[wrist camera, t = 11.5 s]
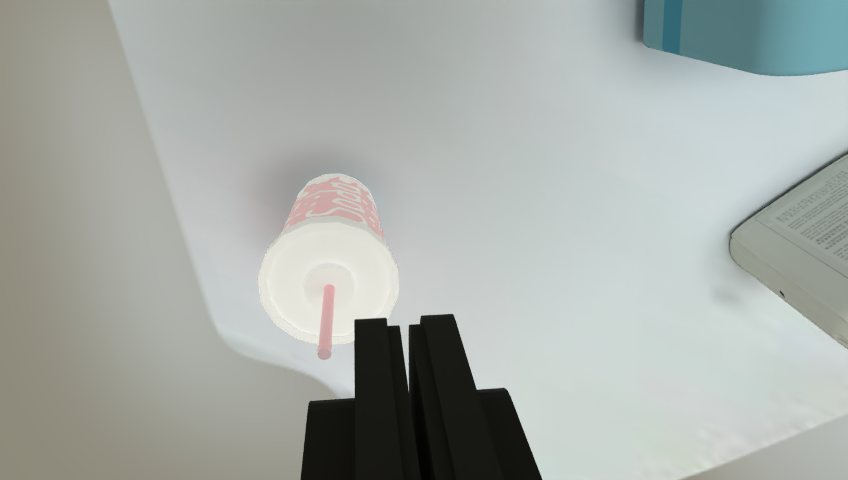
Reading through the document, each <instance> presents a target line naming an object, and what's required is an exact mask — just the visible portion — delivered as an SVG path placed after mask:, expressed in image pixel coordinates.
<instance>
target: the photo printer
mask: <svg viewBox="0 0 848 480" xmlns="http://www.w3.org/2000/svg"><path fill="white" fill-rule="evenodd" d="M731 237H732V238H731V240H730V252H731V255H732V258H733V259H734V261H735V262H736V263H737V264H738V265H740V266H741V267H742V268H743V269H745V270H746V271H747V272H748V273H750V274H751V275H752V276H754V277H755V278H756V279H757V280H759V281H760V282H761V283H762V284H764V285H765V286H766V287H768V288H769V289H770V290H771V291H773V292H774V293H775V294H776V295H778V296H779V297H780V298H782V299H783V300H784V301H785V302H787V303H788V304H789V305H791V306H792V307H793V308H794V309H796V310H797V311H798V312H800V313H801V314H802V315H803V316H805V317H806V318H807V319H809V320H810V321H811V322H812V323H814V324H815V325H816V326H818V327H819V328H820V329H821V330H823V331H824V332H825V333H827V334H828V335H829V336H830V337H832V338H833V339H834V340H836V341H837V342H838V343H840V344H841V345H842V346H844V347H845V348H847V349H848V154H847V155H845V156H843V157H842V158H840V159H839V160H837V161H835V162H834V163H832V164H831V165H829V166H828V167H826V168H824V169H823V170H821V171H820V172H818V173H817V174H815V175H814V176H812V177H811V178H809V179H808V180H806V181H805V182H803V183H802V184H800V185H799V186H797V187H796V188H794V189H793V190H791V191H790V192H788V193H787V194H785V195H784V196H782V197H781V198H779V199H778V200H776V201H775V202H773V203H772V204H770V205H769V206H767V207H766V208H764V209H763V210H761V211H760V212H759V213H757V214H756V215H754V216H753V217H751V218H750V219H749V220H747V221H746V222H745V223H743V224H742V225H741V226H740V227H738V228H737V229H736V230H735V231H734V232H733V233H732V235H731Z"/></svg>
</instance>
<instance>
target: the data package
mask: <svg viewBox="0 0 848 480" xmlns="http://www.w3.org/2000/svg"><path fill="white" fill-rule="evenodd" d="M643 43H644V45H645V46H647V47H649V48H653V49H657V50H661V51H665V52H669V53H673V54H677V55H681V56H685V57H689V58H693V59H697V60H701V61H706V62H710V63H714V64H718V65H722V66H726V67H730V68H734V69H738V70H742V71H746V72H750V73H754V74H760V75H770V76H802V75H813V74H821V73H828V72H835V71H842V70H848V0H645V3H644V29H643Z"/></svg>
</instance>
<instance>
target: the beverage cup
mask: <svg viewBox="0 0 848 480" xmlns="http://www.w3.org/2000/svg"><path fill="white" fill-rule="evenodd" d="M258 286H259V293H260V299H261V304H262V305H263V307H264V308H265V310H266V311H267V313H268V314H269V316H270V317H271V319H272V321H273V322H274V324H275V325H277V326H278V327H280V328H281V329H283V330H284V331H286V332H287V333H289V334H290V335H291V336H293V337H294V338H296V339H299V340H303V341H307V342H311V343H315V344H318V357H319V358H320V359H323V360H326V359H329V358H330V356H331V347H332V345H334V344H347V343H350V342H353V341H354V319H370V318H386V319H387V318H388V317H389V316H390V314H391V312H392V309H393V307H394V305H395V302H396V300H397V298H398V295H399V280H398V267H397V265H396V261H395V259H394V257H393V255H392V253H391V251H390V249H389V247H388V245H387V243H386V241H385V239H384V235H383V232H382V228H381V224H380V220H379V217H378V213H377V209H376V205H375V202H374V200H373V198H372V196H371V194H370V192H369V190H368V188H366V187H365V186H364V185H363V184H362V183H361V182H359V181H358V180H357V179H356V178H353V177H350V176H347V175H344V174H341V173H339V174H324V175H321V176H319V177H317V178H315V179H313V180H311V181H309V182H308V183H307V184H306V186H305V187H304V188H303V189H302V190H301V191H300V192H299V194H298V197H297V199H296V201H295V203H294V205H293V208H292V210H291V212H290V214H289V216H288V219H287V221H286V223H285V225H284V227H283V230H282V232H281V234H280V235H279V236H278V237H277V238H276V239H275V241H274V242H273V243H272V244H271V245H270V246H269V247H268V250H267V252H266V254H265V257H264V260H263V263H262V266H261V269H260V272H259V276H258Z"/></svg>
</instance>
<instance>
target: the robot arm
mask: <svg viewBox="0 0 848 480" xmlns="http://www.w3.org/2000/svg"><path fill="white" fill-rule="evenodd" d="M354 345H355V398H349V399H334V400H320V401H310V402H309V406H308V413H307V423H306V433H305V442H304V452H303V462H302V472H301V480H542V478H541V475H540V472H539V470H538V467H537V465H536V462H535V459H534V457H533V454H532V452H531V449H530V446H529V444H528V441H527V439H526V436H525V433H524V431H523V428H522V425H521V423H520V420H519V418H518V415H517V412H516V410H515V407H514V405H513V402H512V399H511V397H510V395H509V393H508V391H507V390H506V389H505V388H497V389H482V390H477V389H476V386H475V383H474V380H473V376H472V373H471V370H470V367H469V363H468V360H467V357H466V353H465V350H464V347H463V344H462V340H461V337H460V334H459V331H458V327H457V324H456V321H455V318H454V315H453V314H444V315H426V316H421V319H420V324H416V325H409V391H408V384H407V376H406V369H405V362H404V355H403V348H402V340H401V333H400V326H399V325H398V326H387V319H386V318H370V319H354Z"/></svg>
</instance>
